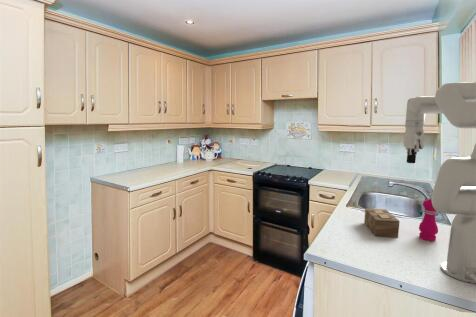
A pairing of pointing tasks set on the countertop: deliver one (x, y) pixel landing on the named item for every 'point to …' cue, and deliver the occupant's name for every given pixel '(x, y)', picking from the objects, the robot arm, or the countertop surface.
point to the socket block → (381, 223)
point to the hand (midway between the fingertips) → (410, 162)
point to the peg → (383, 217)
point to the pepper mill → (428, 222)
